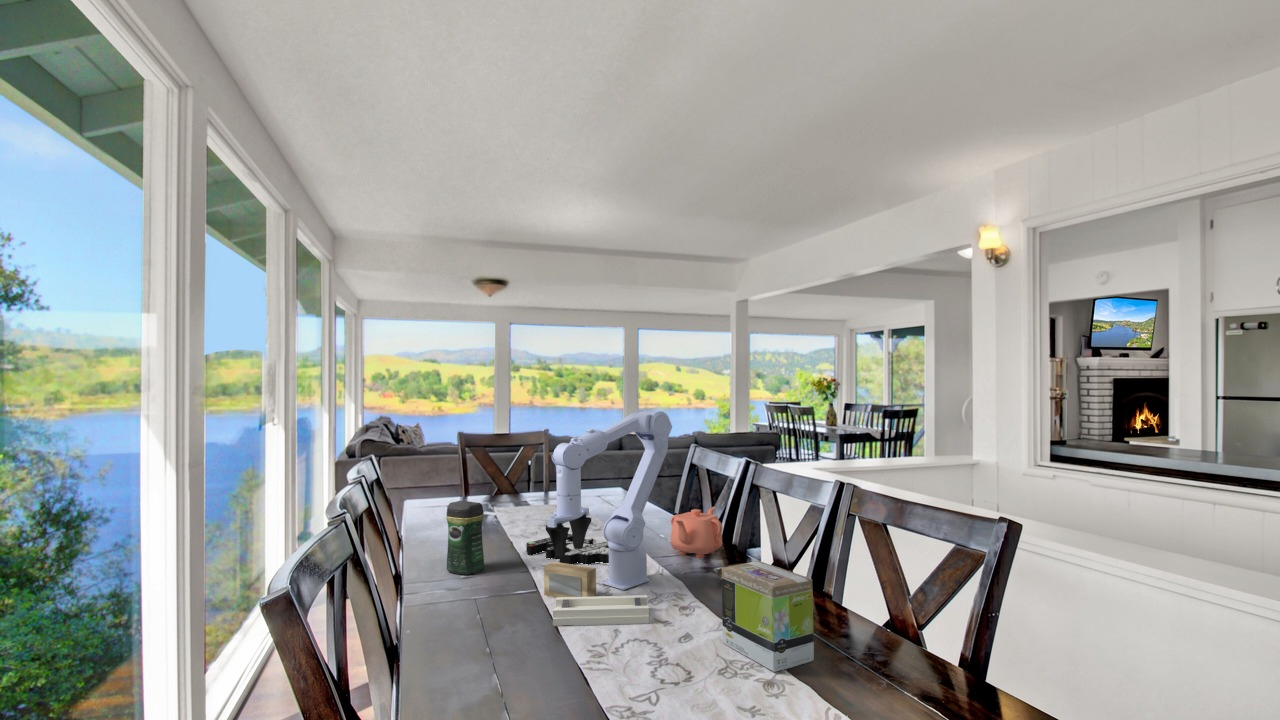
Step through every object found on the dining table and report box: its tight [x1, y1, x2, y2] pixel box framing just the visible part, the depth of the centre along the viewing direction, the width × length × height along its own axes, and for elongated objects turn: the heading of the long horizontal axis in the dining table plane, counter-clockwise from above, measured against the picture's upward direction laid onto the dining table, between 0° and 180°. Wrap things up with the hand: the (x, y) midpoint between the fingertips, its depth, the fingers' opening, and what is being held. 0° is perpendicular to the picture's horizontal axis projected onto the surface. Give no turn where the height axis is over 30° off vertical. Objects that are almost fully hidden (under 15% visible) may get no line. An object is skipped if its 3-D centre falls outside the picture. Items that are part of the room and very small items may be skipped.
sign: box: [526, 533, 609, 565], centre depth 185 cm, size 19×3×30 cm
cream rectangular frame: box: [552, 594, 650, 627], centre depth 137 cm, size 20×9×3 cm, turn 92°
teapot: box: [670, 506, 724, 559], centre depth 186 cm, size 15×17×13 cm
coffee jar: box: [446, 500, 485, 575], centre depth 172 cm, size 10×8×19 cm
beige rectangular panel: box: [543, 561, 597, 598], centre depth 150 cm, size 4×12×7 cm, turn 62°
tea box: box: [721, 560, 815, 673], centre depth 118 cm, size 15×10×15 cm, turn 30°
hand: (569, 552), depth 150 cm, fingers open, 7 cm apart
